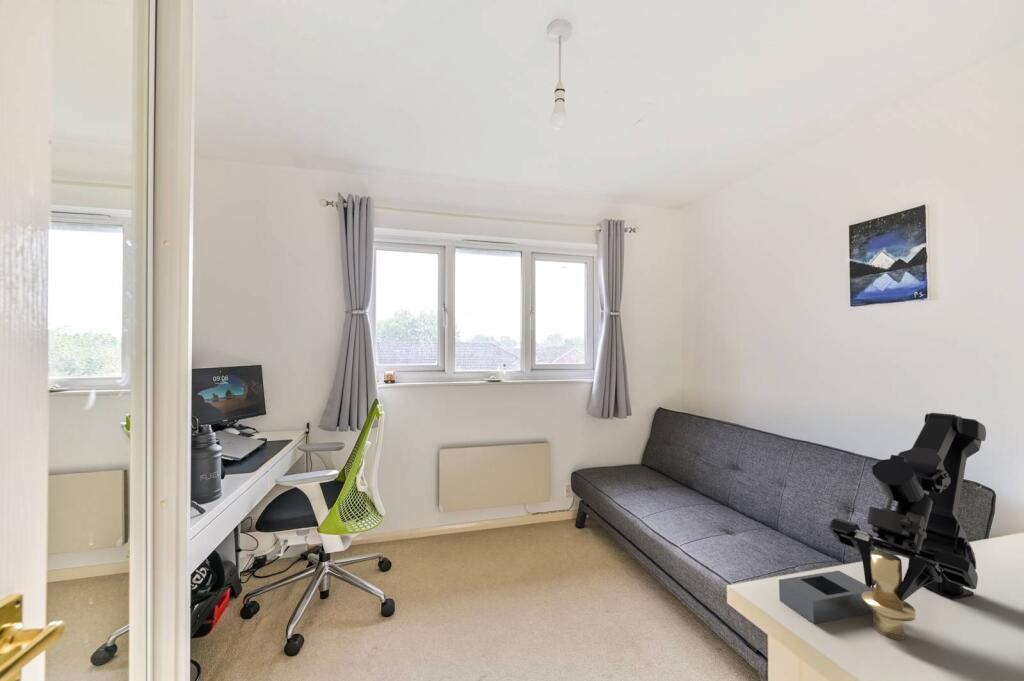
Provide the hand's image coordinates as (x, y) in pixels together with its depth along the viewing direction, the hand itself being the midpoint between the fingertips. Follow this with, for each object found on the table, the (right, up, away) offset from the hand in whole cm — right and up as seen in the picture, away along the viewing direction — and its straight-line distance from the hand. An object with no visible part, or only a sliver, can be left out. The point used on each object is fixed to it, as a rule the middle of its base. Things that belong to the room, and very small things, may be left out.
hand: (883, 592), depth 68 cm
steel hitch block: (-4, -7, +7) cm, 11 cm away
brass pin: (+1, -7, 0) cm, 7 cm away
